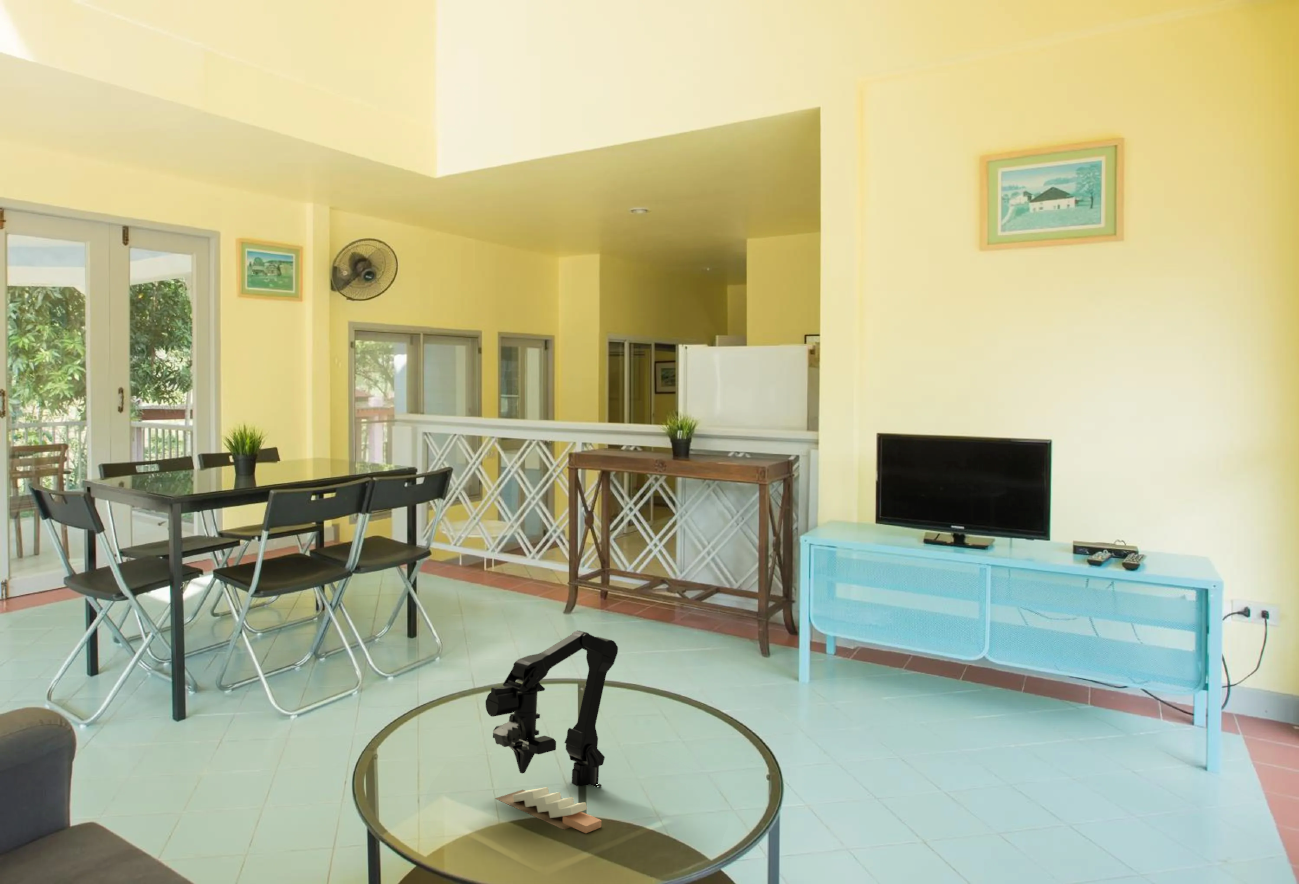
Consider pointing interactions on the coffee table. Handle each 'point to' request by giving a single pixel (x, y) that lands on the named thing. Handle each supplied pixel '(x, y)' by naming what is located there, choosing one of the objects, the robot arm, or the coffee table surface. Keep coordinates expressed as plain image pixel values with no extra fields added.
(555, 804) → the ivory domino
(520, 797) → the ivory domino
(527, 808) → the walnut board
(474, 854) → the coffee table surface
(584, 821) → the terracotta domino
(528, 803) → the ivory domino
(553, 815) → the ivory domino
